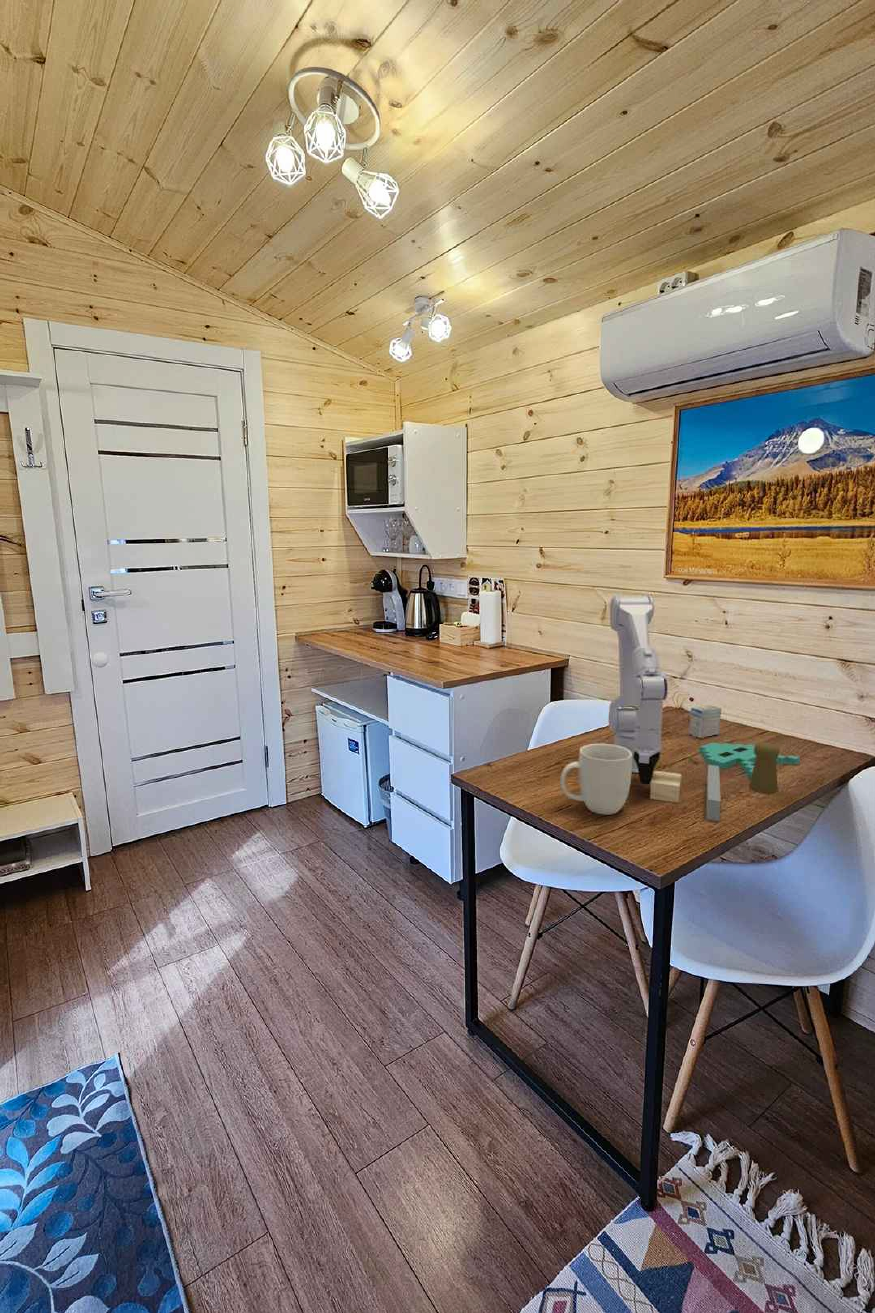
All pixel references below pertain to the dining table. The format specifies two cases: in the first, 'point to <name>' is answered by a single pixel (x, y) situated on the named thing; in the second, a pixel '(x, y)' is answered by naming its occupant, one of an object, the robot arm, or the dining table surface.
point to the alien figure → (736, 756)
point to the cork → (765, 768)
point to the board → (713, 793)
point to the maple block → (665, 786)
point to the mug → (602, 777)
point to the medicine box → (705, 720)
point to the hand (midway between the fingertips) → (645, 783)
